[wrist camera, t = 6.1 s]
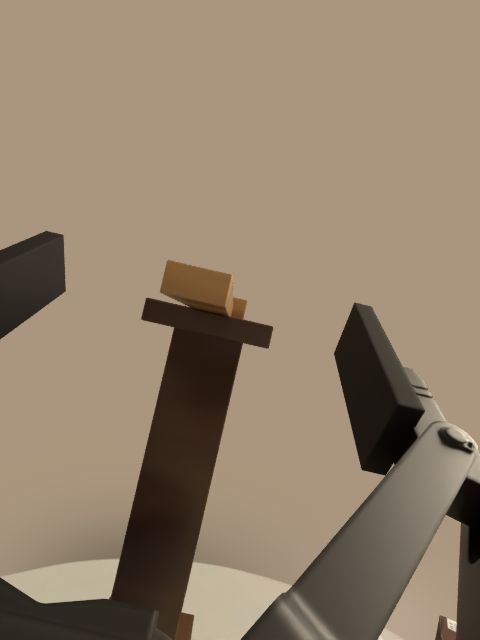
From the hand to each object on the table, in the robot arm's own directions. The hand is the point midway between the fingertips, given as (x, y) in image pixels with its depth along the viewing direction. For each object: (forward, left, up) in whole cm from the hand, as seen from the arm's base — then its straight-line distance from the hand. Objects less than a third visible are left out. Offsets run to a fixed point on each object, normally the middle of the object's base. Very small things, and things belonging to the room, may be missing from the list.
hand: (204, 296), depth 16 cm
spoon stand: (-8, +9, -29) cm, 32 cm away
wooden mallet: (-5, +6, 0) cm, 7 cm away
